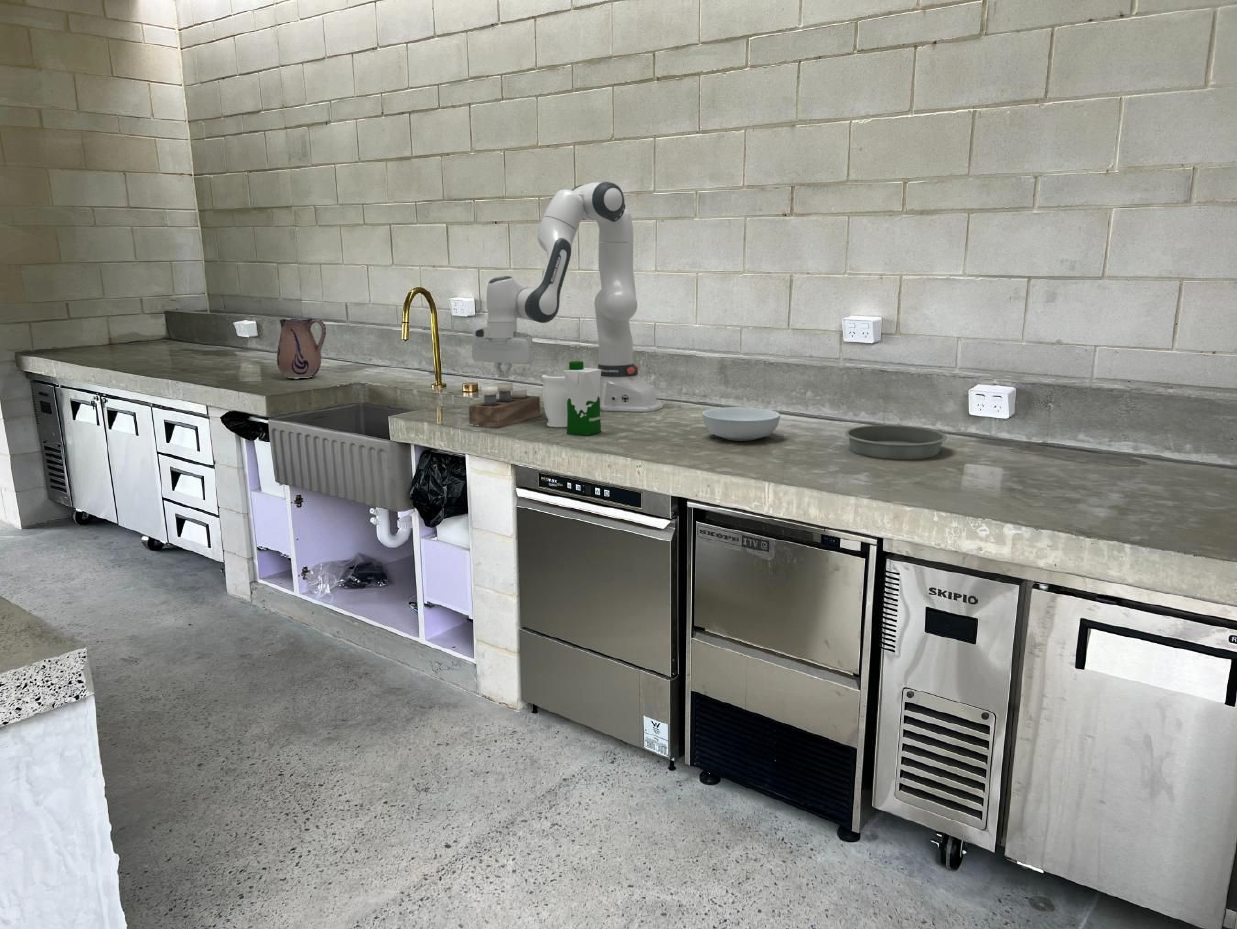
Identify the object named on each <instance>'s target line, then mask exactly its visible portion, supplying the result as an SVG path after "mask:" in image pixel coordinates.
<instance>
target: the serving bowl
mask: <svg viewBox="0 0 1237 929" xmlns="http://www.w3.org/2000/svg"><path fill="white" fill-rule="evenodd" d="M701 414H702V420H703V423H704V426H705V428H706V429H707V430H708V431H709V432H710V433H711V434H713V435H715V436H717V437H720V438H723V439H725V440H728V441H737V442H743V441H744V442H747V441H754V440H757V439H761V438H764V437H768V436H769V435H771V434H772V433H773V432H774V431H775V430H776V429H777V427H778V426H779V422H780V418H781V414H780V412H777V411H775V410H772V409H766V408H760V407H759V408H758V407H746V406H745V407H744V406H736V407H735V406H731V407H730V406H729V407H716V408H712V409H711V408H710V409H706V410H704V411H703V412H702V413H701Z"/></svg>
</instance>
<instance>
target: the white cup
mask: <svg viewBox="0 0 1237 929" xmlns="http://www.w3.org/2000/svg"><path fill="white" fill-rule="evenodd" d="M541 379H542V381H543V385H542V392H541V393H542V394H541V395H542V396H541V397H542V403H543V406H544V413H545V417H546V418H547V419H548V421H547V423H546V426H547V427H550V428H567V385H566V380H565V375H564V372H562V373H561V372H560V373H559V372H558V373H555V372H554V373H547V374H543V375H541Z"/></svg>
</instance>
